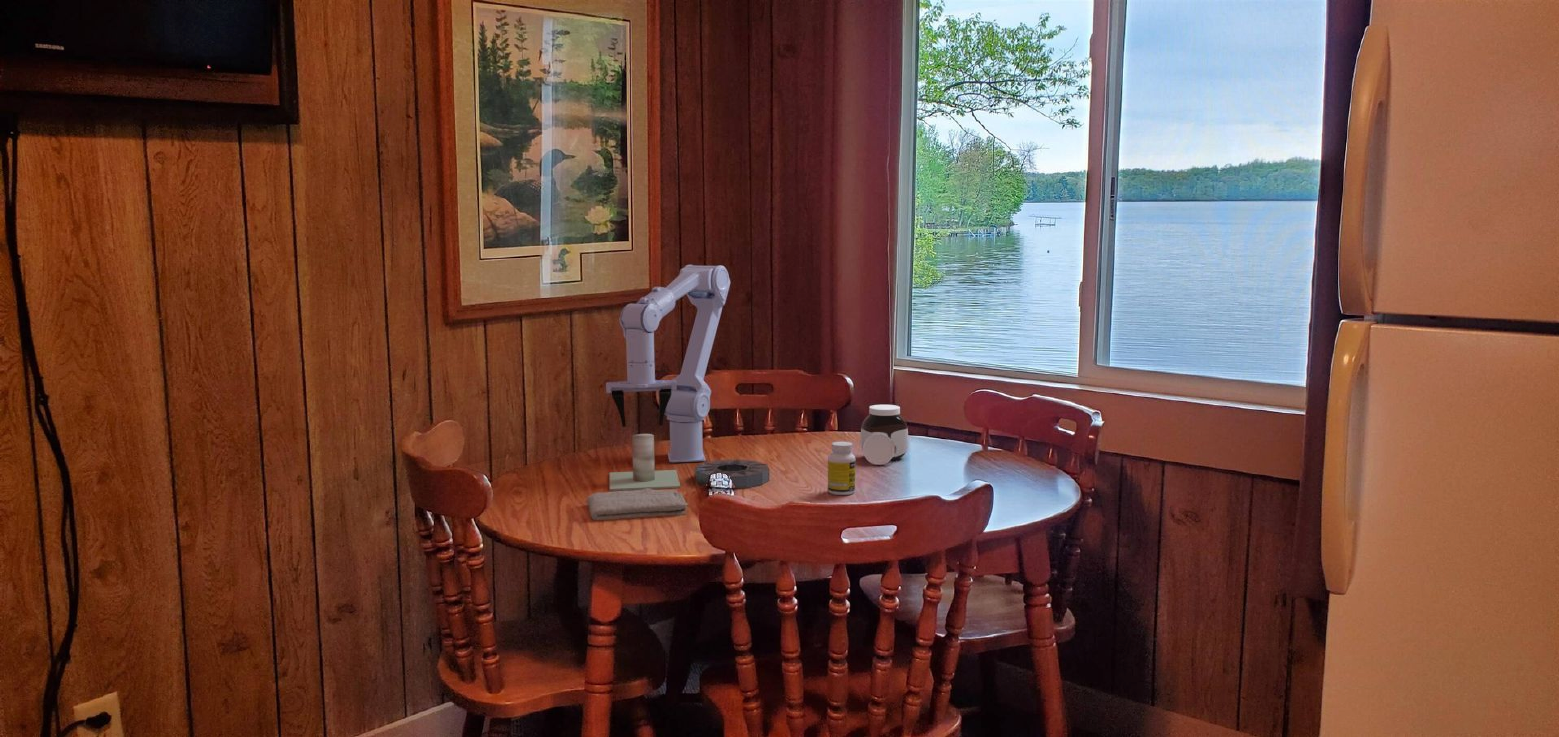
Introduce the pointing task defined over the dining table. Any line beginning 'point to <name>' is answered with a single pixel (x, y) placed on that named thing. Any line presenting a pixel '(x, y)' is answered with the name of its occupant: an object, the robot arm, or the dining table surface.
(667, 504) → the washcloth
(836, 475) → the supplement bottle
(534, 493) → the dining table surface
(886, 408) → the spread jar
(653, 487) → the pad
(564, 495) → the dining table surface
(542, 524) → the dining table surface
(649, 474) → the peg
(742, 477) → the iron collar
